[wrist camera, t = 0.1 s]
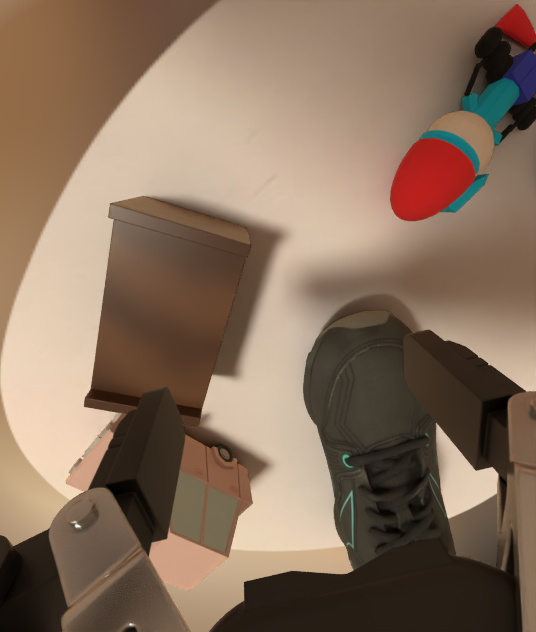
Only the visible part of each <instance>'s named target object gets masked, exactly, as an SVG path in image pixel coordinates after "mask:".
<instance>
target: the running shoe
mask: <svg viewBox="0 0 536 632" xmlns="http://www.w3.org/2000/svg"><path fill="white" fill-rule="evenodd" d="M410 333H413V332H411V330H410V329H409V328H408V327H407V326H406V325H405V324H404V323H402V322H401V321H400V320H399V319H397V318H396V317H395V316H394V315H393V314H391V313H390V312H388V311H376V310H370V311H362V312H359V313H355V314H352V315H349V316H346V317H344V318H341V319H339V320H337V321H336V322H334V323H332V324H331V325H329V326H328V327H327V328H326V329H325V330H324V331H323V332H322V333H321V334H320V335H319V337H318V338H317V339H316V341H315V344H314V347H313V348H312V350H311V352H310V353H309V354H308V357H307V361H306V367H305V374H304V383H303V394H304V401H305V405H306V408H307V411H308V413H309V415H310V417H311V419H312V420H313V422H314V423H315V424H316V425H317V428H318V432H319V436H320V439H321V443H322V446H323V449H324V453H325V456H326V459H327V463H328V467H329V471H330V475H331V480H332V485H333V491H334V497H335V504H334V520H335V526H336V530H337V532H338V535H339V537H340V539H341V540H342V542H343V543H344V545H345V546H346V549H347V551H348V556H349V560H350V563H351V566H352V568H353V569H354V570H355V569H357V568H359V567H361V566H362V565H364V564H366V563H367V562H369V561H371V560H372V559H374V558H376V557H378V556H379V555H381V554H383V553H384V552H386V551H388V550H389V549H391V548H395V547H399V546H403V545H408V544H412V543H417V542H421V541H425V540H430V539H434V538H438V537H440V539H441V541H442V543H443V544H444V546H445V548H446V550H447V551H448V553H449V554H450V555H456V552H455V547H454V542H453V539H452V534H451V531H450V526H449V522H448V518H447V514H446V510H445V506H444V502H443V498H442V495H441V488H440V477H439V469H438V461H437V452H436V421H435V420H434V419H433V418H432V417H431V415H430V414H429V413H428V412H427V410H426V409H425V408H424V407H423V406H422V404H421V403H420V402H419V401H418V399H417V398H416V397H415V396H414V395H413V393H412V392H411V391H410V389H409V387H408V385H407V383H406V379H405V374H404V336H405V335H406V334H410Z"/></svg>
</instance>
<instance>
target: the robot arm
mask: <svg viewBox="0 0 536 632" xmlns="http://www.w3.org/2000/svg"><path fill="white" fill-rule="evenodd" d="M404 374H405V379H406V383H407V385H408V387H409V389H410V391H411V392H412V393H413V395H414V396H415V397H416V398H417V399H418V401H419V402H420V403H421V404H422V406H423V407H424V408H425V409H426V410H427V412H428V413H429V414H430V415H431V417H432V418H433V419H434V420H435V421H436V423H437V424H438V425H439V426H440V427H441V429H442V430H443V431H444V432H445V434H446V435H447V436H448V437H449V438H450V440H451V441H452V442H453V443H454V445H455V446H456V447H457V448H458V449H459V451H460V452H461V453H462V454H463V456H464V457H465V458H466V459H467V460H468V462H469V463H470V464H471V465H472V466H473V468H474V469H475V470H476V471H477V470H481V469H485V468H490V467H493V468H494V469H495V470H496V471H497V473H498V481H497V529H498V530H497V562H496V567H495V566H492V565H490V564H488V563H485V562H482V561H479V560H476V559H473V558H469V557H464V556H458V555H450V554H449V553H448V551H447V550H446V548H445V546H444V544H443V543H442V541H441V539H440V537H438V538H434V539H430V540H425V541H421V542H417V543H412V544H408V545H403V546H399V547H395V548H391V549H389V550H388V551H386V552H384V553H383V554H381V555H379V556H378V557H376V558H374V559H372V560H371V561H369V562H367V563H366V564H364V565H362V566H361V567H359V568H357V569H355V570H354V571H352V572H350V573H348V574H328V573H314V572H300V571H290V572H286V573H281V574H277V575H272V576H269V577H264V578H259V579H255V580H250V581H246V582H244V601H243V602H241V603H240V604H238V605H237V606H235V607H234V608H233V609H231V610H230V611H229V612H227V613H226V614H225V615H224V616H223V617H222V618H221V619H220V620H219V621H218V622H217V623H216V624H215V625H214V626H213V627H212V629H211V630H210V631H209V632H536V392H533V391H529V392H526V391H525V390H524V389H522V388H521V387H520V386H518V385H517V384H516V383H514V382H513V381H512V380H510V379H509V378H507V377H506V376H505V375H503V374H502V373H501V372H499V371H498V370H497V369H495V368H494V367H493V366H491V365H488V363H487V362H486V361H484V360H483V359H482V358H478V355H476V354H475V353H474V352H472V351H471V350H470V349H468V348H467V347H465V346H463V345H460V344H457V343H455V342H452V341H444V340H442V339H441V338H440V337H439V336H437V335H436V334H435V333H434V332H432V331H431V330H424V331H419V332H415V333H410V334H406V335H405V336H404ZM184 444H185V429H184V424H183V421H182V419H181V416H180V413H179V411H178V408H177V406H176V403H175V401H174V398H173V396H172V393H171V391H170V389H169V388H168V387H164V388H160V389H155V390H151V391H146V392H144V393H143V394H142V397H141V399H140V401H139V404H138V406H137V409H135V410H131V411H129V412H128V413H127V415H126V416H125V417H124V418H123V419H122V420H121V421H120V422H119V423H118V426H117V428H116V430H115V432H114V434H113V439H111V441H110V443H109V445H108V450H106V452H105V454H104V456H103V458H102V460H101V462H100V465H99V467H98V469H97V471H96V473H95V475H94V477H93V480H92V482H91V484H90V486H89V488H88V490H87V491H85V492H83V493H81V494H79V495H78V496H76V497H75V498H73V499H72V500H71V501H69V502H68V503H67V504H66V505H65V506H64V507H63V508H62V509H61V510H60V511H59V513H58V514H57V515H56V517H55V518H54V520H53V522H52V524H51V526H50V528H49V529H48V530H46V531H44V532H42V533H40V534H38V535H36V536H34V537H31V538H29V539H27V540H26V541H23V542H21V543H19V544H18V545H15V546H13V545H12V544H11V543H10V542H9V540H8V539H7V538H6V537H4V536H1V535H0V632H191V631H190V629H189V627H188V626H187V624H186V622H185V620H184V618H183V617H182V615H181V613H180V611H179V610H178V608H177V606H176V604H175V602H174V601H173V599H172V597H171V596H170V594H169V592H168V590H167V588H166V587H165V585H164V583H163V581H162V579H161V578H160V576H159V574H158V572H157V571H156V569H155V567H154V565H153V564H152V562H151V560H150V558H149V554H150V549H151V545H152V543H153V542H157V541H162V540H166V539H167V537H168V532H169V526H170V521H171V515H172V510H173V504H174V499H175V493H176V488H177V482H178V477H179V471H180V466H181V460H182V455H183V449H184Z"/></svg>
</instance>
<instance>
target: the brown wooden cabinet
mask: <svg viewBox="0 0 536 632" xmlns="http://www.w3.org/2000/svg"><path fill="white" fill-rule="evenodd" d="M108 217H109V218H111V219H114V222H113V230H112V237H111V244H110V252H109V259H108V266H107V274H106V281H105V288H104V296H103V303H102V311H101V318H100V325H99V333H98V340H97V347H96V355H95V362H94V370H93V377H92V384H91V390H90V391H89V393H88V394H87V396H86V397H85V401H84V407H88V408H94V409H100V410H106V411H112V412H117V413H123V414H127V413H128V412H129V411H131V410H135V409H137V406H138V404H139V401H140V399H141V397H142V394H143V393H144V392H146V391H151V390H155V389H160V388H164V387H168V388H169V389H170V391H171V393H172V396H173V398H174V401H175V403H176V406H177V408H178V411H179V413H180V416H181V419H182V421H183V424H187V425H192V426H199V422H200V419H201V412H202V407H203V404H204V400H205V397H206V393H207V390H208V386H209V383H210V380H211V376H212V373H213V369H214V366H215V362H216V359H217V355H218V352H219V349H220V345H221V342H222V338H223V335H224V331H225V328H226V325H227V321H228V318H229V314H230V311H231V307H232V304H233V300H234V297H235V294H236V290H237V287H238V283H239V280H240V276H241V273H242V270H243V266H244V263H245V259H246V257H248V255H249V251H250V248H251V243H250V239H249V235H248V231H247V228H246V227H243V226H239V225H236V224H233V223H230V222H226V221H223V220H220V219H216V218H213V217H210V216H207V215H203V214H200V213H197V212H194V211H190V210H187V209H184V208H181V207H177V206H174V205H171V204H168V203H164V202H161V201H158V200H155V199H151V198H148V197H145V196H141V197H137V198H132V199H128V200H123V201H119V202H114V203H110V208H109V216H108Z"/></svg>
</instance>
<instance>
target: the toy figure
mask: <svg viewBox="0 0 536 632" xmlns="http://www.w3.org/2000/svg"><path fill="white" fill-rule="evenodd" d="M503 33H504V34H506V35H508V36H509V37H511V38H513V39H514V40H516V41H518V42H519V43H521V44H522V45H524V46H526V47H528V48H529V49H528V50H527V51H526V52H523V53H521V54H519V55H517V56H514V57H512V56H511V55H509V54H510V51H511V45H510V44H509V42H507V41H501V40H502V37H503ZM535 50H536V34H535V31H534V28H533V26H532V24H531V22H530V20H529V19H528V17H527V15H526V13H525V11H524V10H523V9H522V8H521V7H520V6H519V5H518V4H516V5H515V6H514V7H513V8H512V9H511V10H510V11H509V12H508V13H507V14H506V15H505V16H504V17H503V18H502V19H501V20H500V21H499V22H498V24H497V25H496V26H495V27H492V28H490V29H488V30H487V31H486V32H485V34H484V35H483V36H482V37H481V39H480V40H479V41H478V43H477V44H476V46H475V50H474V52H475V55H476V57H477V58H480V59H481V58H483V59H482V61H481V62H480V63H478V64H476V66H475V69H474V71H473V74H472V76H471V79H470V81H469V84H468V86H467V89H466V91H465V93H464V95H465V96H466V97H463V98H462V106H463V111H456V112H450V113H448V114H446V115H444V116H442V117H440V118H439V119H438V120H437V121H435V122H434V123H433V124H432V125H431V126H430V128H429V130H428V131H427V132H426V133H424V134H423V135H422V136H421V137H420V139H419V140H418V141H417V142H416V143H414V144H413V145H412V147H411V148H410V150H409V151H408V153H407V154H406V156H405V157H404V159H403V160H402V162H401V164H400V166H399V168H398V170H397V172H396V175H395V178H394V181H393V184H392V188H391V196H390V201H391V206H392V209H393V211H394V213H395V214H396V216H397V217H399V218H400V219H403V220H405V221H418V220H423V219H426V218H428V217H431V216H433V215H435V214H437V213H439V212H457V211H458V210H459V209H460V208H461V207H462V206H463V205H464V204H465V203H466V202H467V201H468V200H469V199H470V198H471V197H472V196H473V195H474V194H475V193H476V192H477V191H478V190H479V189H480V188H481V187H482V186H483V185H484V184H485V182H486V179H487V177H488V175H489V174H484V175H478V174H480V173H481V172H482V171H483V170H484V168H485V167H486V166H487V165H488V164H489V162H490V160H491V158H492V154H493V150H494V146H495V145H499V143H500V142H501V141H502V140H503V139H504V138H505V137H506V136H507V135H508V134H509V133H510V132H512V130H513V129H514V128H515V127H516V126H517V129H519V130H526V129H527V128H529V126H530V125H531V124H532V123H533V122H534V121H535V120H536V106H535V105H536V98H534V97H533V95H534V94H535V93H536V58H535V56H534V54H533V52H534V51H535ZM482 66H483V68H484V69H485V70H486V71H487V74H486V80H487V82H488V83H490V84H489V85H488V87H487V88H486V89H485V90H484V91H483V93H482V94H481V95H480V96H479V98H478V99H477V92H476V93H473V94H470V92H471V90H472V87H473V85H474V82H475V80H476V77H477V75H478V73H479V70H480V68H481V67H482ZM507 111H509V113H510V114H513V115H512V118H513V120H515V121H516V122H515V123H514V124H513V125H512V124H511V125H509V126H508V127H507V128H506V129H505V130H504V131H503V132H502V133H501V134H500V133H498V132H497V131H495V130H493V128H494V127H495V126H496V125H497V124H498V122H499V121H500V120H501V119H502V117H503V116H504V115H505V114H506V112H507Z"/></svg>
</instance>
